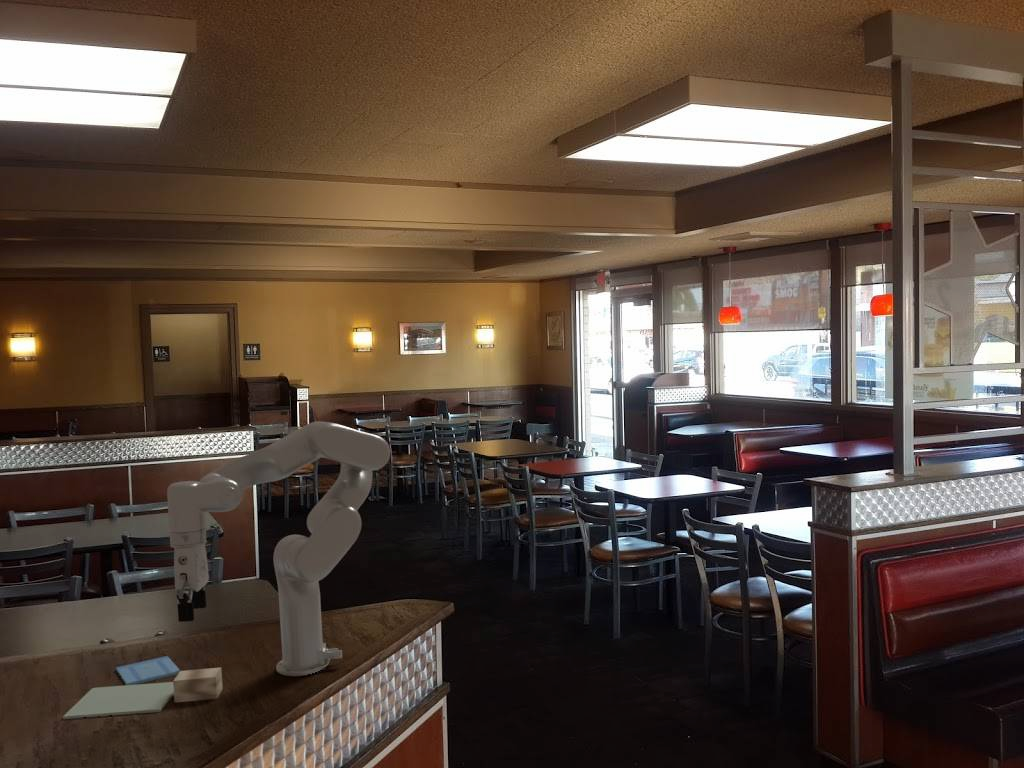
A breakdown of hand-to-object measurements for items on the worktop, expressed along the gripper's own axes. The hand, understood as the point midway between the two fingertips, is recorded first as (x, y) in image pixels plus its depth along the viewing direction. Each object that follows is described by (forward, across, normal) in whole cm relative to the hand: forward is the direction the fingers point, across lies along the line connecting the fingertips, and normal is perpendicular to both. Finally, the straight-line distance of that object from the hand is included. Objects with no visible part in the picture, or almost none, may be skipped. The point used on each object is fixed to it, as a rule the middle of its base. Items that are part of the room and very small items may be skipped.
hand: (192, 614), depth 200 cm
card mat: (+18, 0, +16) cm, 24 cm away
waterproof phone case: (+19, +18, +17) cm, 31 cm away
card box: (+18, 0, 0) cm, 18 cm away
